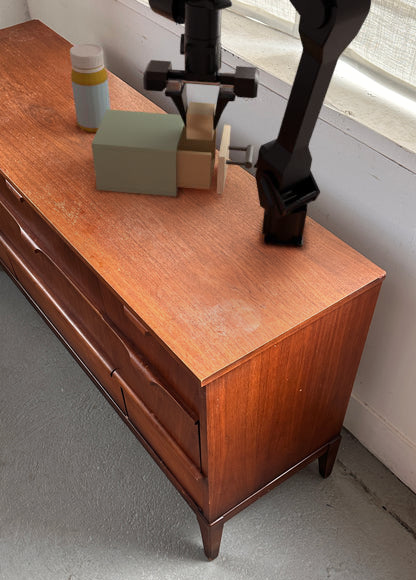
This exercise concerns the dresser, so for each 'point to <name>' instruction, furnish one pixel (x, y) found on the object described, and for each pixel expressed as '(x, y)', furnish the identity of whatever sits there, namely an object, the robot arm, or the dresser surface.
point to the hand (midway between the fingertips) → (201, 128)
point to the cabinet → (137, 152)
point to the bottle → (89, 86)
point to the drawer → (206, 160)
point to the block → (200, 121)
